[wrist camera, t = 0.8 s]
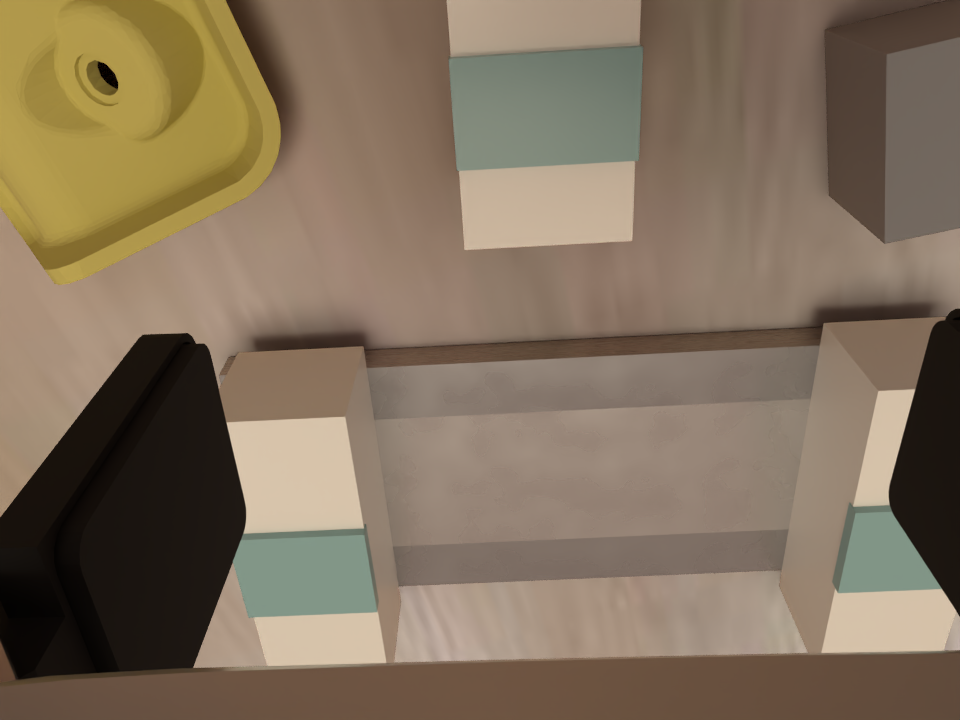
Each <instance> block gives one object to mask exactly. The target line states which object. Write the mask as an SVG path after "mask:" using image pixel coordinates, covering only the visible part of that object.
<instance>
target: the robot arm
mask: <svg viewBox="0 0 960 720" xmlns="http://www.w3.org/2000/svg"><path fill="white" fill-rule="evenodd" d="M889 504H890V507H891V511H892V513H893V515H894V517H895V518H896V520H897V521H898V523H899V524H900V526H901V527H902V529H903V530H904V532H905V533H906V535H907V537H908V538H909V540H910V541H911V543H912V544H913V546H914V547H915V549H916V550H917V552H918V553H919V555H920V556H921V558H922V559H923V561H924V562H925V564H926V566H927V567H928V569H929V570H930V572H931V573H932V575H933V576H934V578H935V579H936V581H937V582H938V584H939V585H940V587H941V588H942V590H943V592H944V593H945V595H946V596H947V598H948V599H949V601H950V602H951V604H952V605H953V607H954V608H955V610H956V611H957V613H958V614H959V616H960V309H955V310H953V311H951V312H950V313H949V314H948V316H947V317H946V319H945V320H942V321H938V322H937V323H936V324H935V325H934V326H933V328H932V330H931V333H930V337H929V340H928V344H927V348H926V351H925V355H924V359H923V363H922V366H921V370H920V374H919V377H918V381H917V385H916V389H915V392H914V396H913V400H912V403H911V407H910V411H909V414H908V418H907V422H906V426H905V429H904V433H903V437H902V440H901V444H900V448H899V452H898V455H897V459H896V463H895V466H894V470H893V474H892V478H891V481H890V485H889ZM245 525H246V505H245V500H244V495H243V491H242V487H241V482H240V478H239V474H238V470H237V465H236V461H235V457H234V453H233V448H232V444H231V440H230V435H229V431H228V427H227V423H226V418H225V414H224V410H223V406H222V401H221V397H220V393H219V389H218V384H217V380H216V376H215V371H214V367H213V363H212V359H211V355H210V352H209V349H208V347H207V346H206V345H205V344H196V343H195V341H194V339H193V338H192V336H191V335H190V334H188V333H182V334H150V335H142V336H141V337H140V338H139V339H138V340H137V341H136V343H135V344H134V345H133V347H132V348H131V349H130V351H129V352H128V353H127V354H126V356H125V357H124V358H123V360H122V361H121V362H120V363H119V365H118V366H117V367H116V369H115V370H114V371H113V372H112V374H111V375H110V376H109V378H108V379H107V380H106V382H105V383H104V384H103V385H102V387H101V388H100V389H99V391H98V392H97V393H96V394H95V396H94V397H93V398H92V400H91V401H90V402H89V404H88V405H87V406H86V407H85V409H84V410H83V411H82V413H81V414H80V415H79V416H78V418H77V419H76V420H75V422H74V423H73V424H72V425H71V427H70V428H69V429H68V431H67V432H66V433H65V435H64V436H63V437H62V438H61V440H60V441H59V442H58V444H57V445H56V446H55V447H54V449H53V450H52V451H51V453H50V454H49V455H48V457H47V458H46V459H45V460H44V462H43V463H42V464H41V466H40V467H39V468H38V469H37V471H36V472H35V473H34V475H33V476H32V477H31V478H30V480H29V481H28V482H27V484H26V485H25V486H24V488H23V489H22V490H21V491H20V493H19V494H18V495H17V497H16V498H15V499H14V500H13V502H12V503H11V504H10V506H9V507H8V508H7V510H6V511H5V512H4V513H3V515H2V516H1V517H0V720H960V650H952V651H895V652H841V653H790V654H742V655H694V656H648V657H604V658H560V659H516V660H478V661H439V662H401V663H364V664H327V665H291V666H254V667H217V668H193V666H194V664H195V661H196V658H197V656H198V653H199V650H200V648H201V645H202V642H203V640H204V637H205V634H206V632H207V629H208V626H209V624H210V621H211V618H212V616H213V613H214V610H215V608H216V605H217V602H218V600H219V597H220V594H221V592H222V589H223V586H224V584H225V581H226V578H227V576H228V573H229V570H230V568H231V565H232V562H233V560H234V557H235V555H236V552H237V549H238V547H239V544H240V541H241V539H242V536H243V533H244V530H245Z"/></svg>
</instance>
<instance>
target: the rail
mask: <svg viewBox="0 0 960 720" xmlns="http://www.w3.org/2000/svg"><path fill="white" fill-rule="evenodd" d="M822 330H823V327H816V328H796V329H776V330H756V331H737V332H717V333H697V334H677V335H658V336H638V337H618V338H598V339H578V340H559V341H539V342H519V343H499V344H480V345H460V346H440V347H420V348H400V349H381V350H364V353H365V360H366V367H367V374H368V381H369V387H370V394H371V401H372V408H373V415H374V421H375V428H376V435H377V442H378V449H379V455H380V462H381V469H382V476H383V483H384V489H385V496H386V503H387V510H388V517H389V523H390V530H391V537H392V544H393V551H394V557H395V564H396V571H397V578H398V585H399V586H416V585H440V584H464V583H487V582H511V581H535V580H559V579H583V578H606V577H630V576H654V575H678V574H702V573H725V572H749V571H773V570H782V565H783V560H784V554H785V548H786V542H787V536H788V530H789V524H790V518H791V513H792V507H793V501H794V495H795V489H796V483H797V477H798V471H799V465H800V460H801V454H802V448H803V442H804V436H805V430H806V424H807V418H808V413H809V407H810V401H811V395H812V389H813V383H814V377H815V371H816V366H817V360H818V354H819V348H820V342H821V336H822ZM235 358H236V357H229V358H228V360H227V361H226V363H225V365H224V367H223V369H222V371H221V372H220V374H219V378H220V382H221V384H222V382H223V381H224V379H225V377H226V375H227V373H228V371H229V369H230V367H231V365H232V364H233V362H234V360H235Z"/></svg>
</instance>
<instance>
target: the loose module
mask: <svg viewBox="0 0 960 720" xmlns="http://www.w3.org/2000/svg"><path fill="white" fill-rule="evenodd" d="M447 11H448V24H449V38H450V52H451V56H449V72H450V85H451V99H452V113H453V126H454V140H455V154H456V167H457V171H459V178H460V192H461V206H462V220H463V233H464V247H465V250H473V249H491V248H510V247H528V246H547V245H565V244H584V243H602V242H621V241H632V233H633V206H634V179H635V161H639V144H640V119H641V93H642V68H643V46H642V45H640V17H641V0H447Z"/></svg>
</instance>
